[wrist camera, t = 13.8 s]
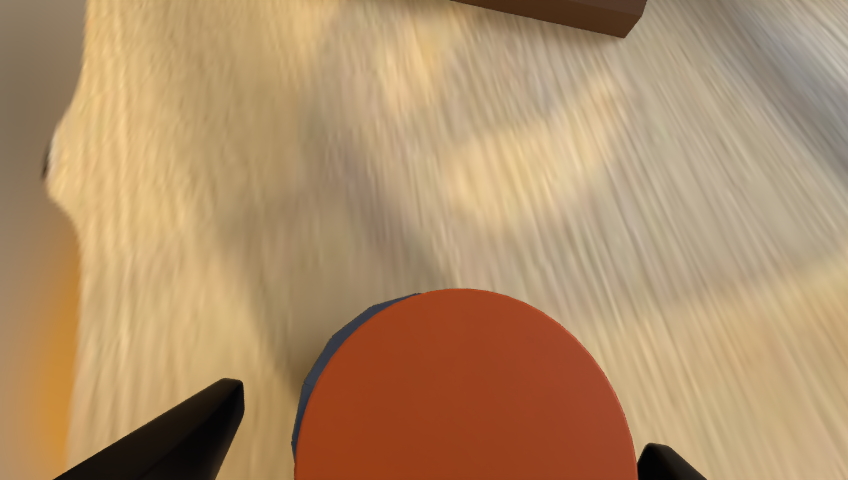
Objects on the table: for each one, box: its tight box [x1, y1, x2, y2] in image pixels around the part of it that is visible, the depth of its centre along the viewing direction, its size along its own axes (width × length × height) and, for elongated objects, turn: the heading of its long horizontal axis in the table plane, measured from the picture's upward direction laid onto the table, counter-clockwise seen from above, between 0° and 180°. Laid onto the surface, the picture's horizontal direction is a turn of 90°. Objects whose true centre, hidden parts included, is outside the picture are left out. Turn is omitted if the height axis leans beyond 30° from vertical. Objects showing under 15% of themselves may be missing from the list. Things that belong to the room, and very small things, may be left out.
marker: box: [294, 289, 638, 480], centre depth 11 cm, size 4×4×12 cm
